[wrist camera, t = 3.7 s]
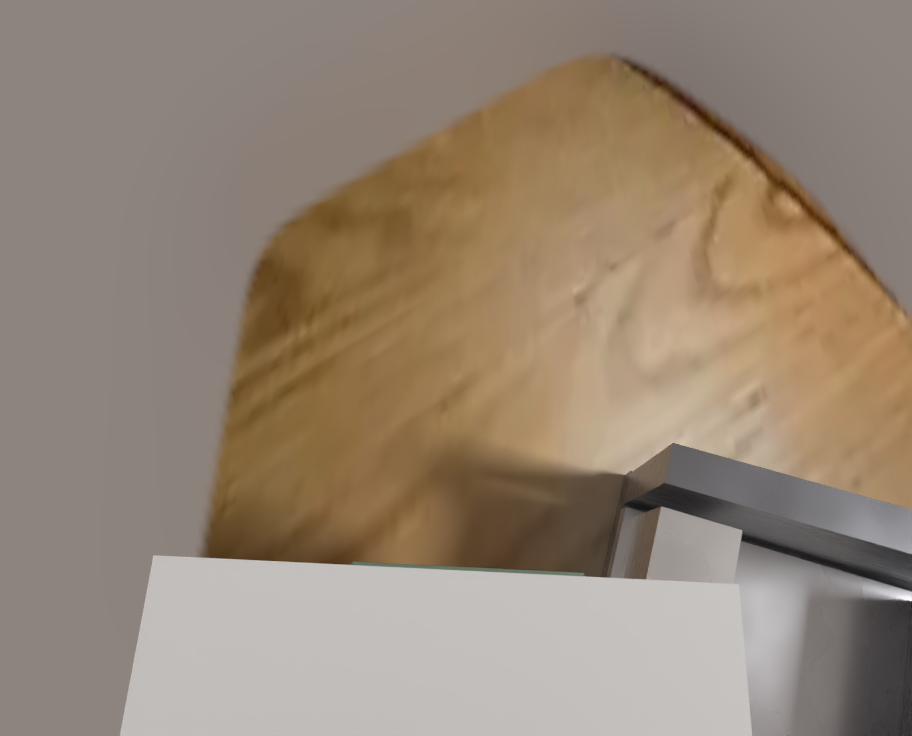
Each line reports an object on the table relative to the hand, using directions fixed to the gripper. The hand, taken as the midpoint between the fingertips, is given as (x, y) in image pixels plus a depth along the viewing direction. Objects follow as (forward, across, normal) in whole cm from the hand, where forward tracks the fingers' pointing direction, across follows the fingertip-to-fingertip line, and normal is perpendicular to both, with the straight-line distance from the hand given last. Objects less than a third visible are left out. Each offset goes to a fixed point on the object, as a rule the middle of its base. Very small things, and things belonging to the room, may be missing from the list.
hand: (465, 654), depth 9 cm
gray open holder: (+8, -8, +9) cm, 14 cm away
